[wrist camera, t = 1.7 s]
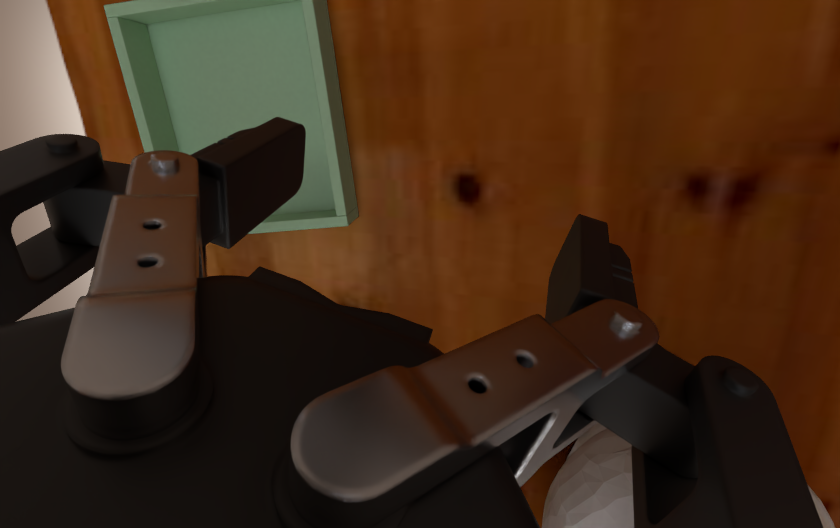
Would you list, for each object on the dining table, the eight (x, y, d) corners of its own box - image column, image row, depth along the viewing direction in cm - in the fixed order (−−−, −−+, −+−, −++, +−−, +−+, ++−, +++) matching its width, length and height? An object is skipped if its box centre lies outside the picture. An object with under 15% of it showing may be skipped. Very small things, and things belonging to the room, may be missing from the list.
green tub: (137, 14, 34) (102, 5, 31) (324, -15, 32) (308, -29, 29) (193, 230, 39) (169, 240, 36) (358, 216, 37) (348, 226, 34)
